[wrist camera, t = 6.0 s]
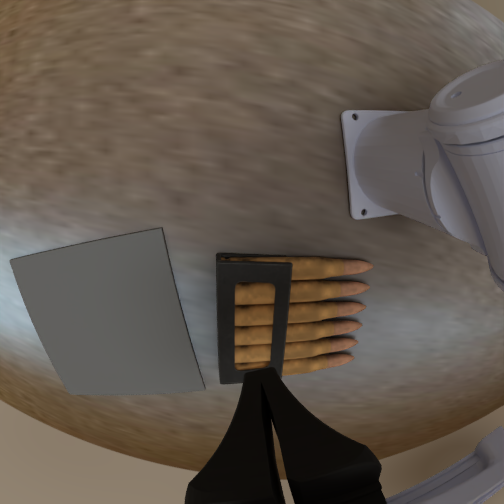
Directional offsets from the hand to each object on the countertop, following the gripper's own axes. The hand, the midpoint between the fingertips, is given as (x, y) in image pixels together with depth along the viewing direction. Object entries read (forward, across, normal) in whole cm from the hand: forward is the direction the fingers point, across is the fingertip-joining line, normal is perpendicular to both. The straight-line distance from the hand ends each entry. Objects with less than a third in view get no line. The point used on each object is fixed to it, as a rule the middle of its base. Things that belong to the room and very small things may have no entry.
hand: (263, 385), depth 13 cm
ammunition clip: (+9, +3, +2) cm, 10 cm away
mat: (+11, +13, +1) cm, 16 cm away
